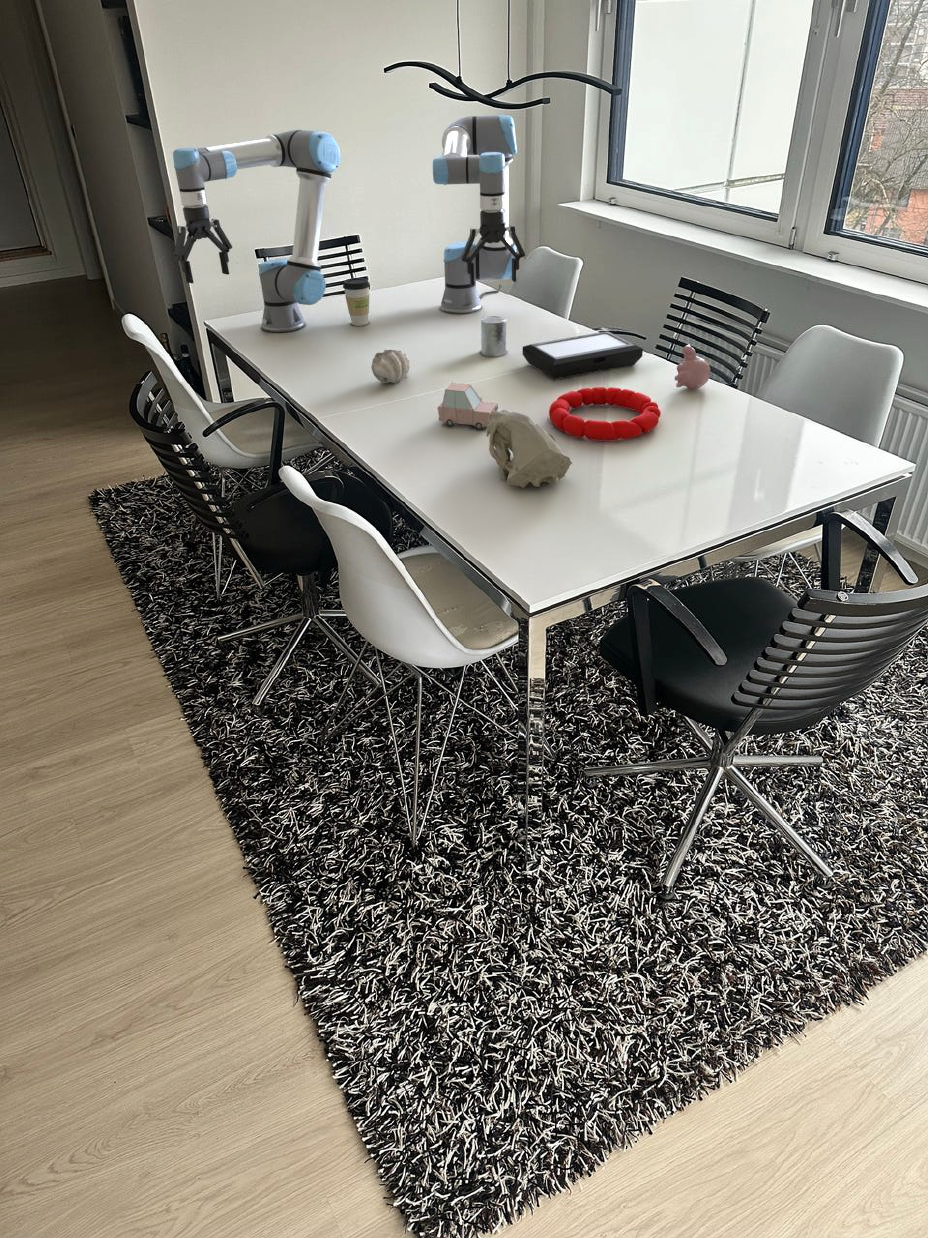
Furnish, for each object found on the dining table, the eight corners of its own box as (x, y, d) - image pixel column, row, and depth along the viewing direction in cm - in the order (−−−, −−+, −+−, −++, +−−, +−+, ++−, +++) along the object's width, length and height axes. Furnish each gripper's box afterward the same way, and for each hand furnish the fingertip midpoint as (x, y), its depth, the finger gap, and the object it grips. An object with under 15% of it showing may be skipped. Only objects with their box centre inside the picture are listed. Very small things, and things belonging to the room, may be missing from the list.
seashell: (364, 381, 275) (361, 349, 270) (407, 372, 281) (405, 341, 275) (377, 391, 268) (374, 358, 262) (421, 382, 273) (420, 349, 268)
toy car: (488, 432, 240) (488, 396, 234) (436, 426, 244) (434, 390, 239) (499, 419, 247) (499, 384, 241) (448, 413, 252) (447, 379, 246)
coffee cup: (372, 326, 323) (368, 283, 314) (345, 327, 323) (340, 284, 315) (374, 318, 331) (371, 276, 322) (348, 319, 331) (344, 277, 323)
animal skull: (496, 517, 219) (521, 479, 201) (463, 429, 225) (484, 384, 207) (557, 503, 225) (586, 465, 206) (523, 417, 231) (549, 373, 212)
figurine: (665, 387, 264) (669, 347, 257) (693, 380, 268) (698, 340, 261) (686, 396, 257) (690, 355, 250) (714, 388, 262) (720, 348, 255)
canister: (488, 358, 291) (487, 324, 285) (477, 351, 297) (476, 318, 291) (510, 354, 294) (510, 320, 287) (499, 347, 300) (499, 314, 294)
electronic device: (553, 362, 266) (522, 343, 282) (552, 382, 270) (522, 363, 285) (643, 345, 277) (609, 328, 292) (641, 365, 280) (607, 347, 295)
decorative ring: (589, 435, 224) (684, 402, 234) (527, 398, 247) (617, 369, 256) (589, 461, 229) (683, 427, 238) (529, 422, 251) (617, 393, 260)
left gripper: (166, 213, 261) (181, 288, 273) (235, 200, 276) (247, 271, 288) (152, 210, 265) (167, 284, 277) (221, 197, 280) (233, 268, 292)
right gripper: (454, 214, 265) (456, 288, 278) (535, 209, 269) (534, 282, 281) (449, 210, 272) (452, 282, 284) (529, 204, 275) (528, 276, 287)
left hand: (208, 278), depth 283 cm, fingers open, 13 cm apart
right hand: (493, 282), depth 282 cm, fingers open, 13 cm apart
